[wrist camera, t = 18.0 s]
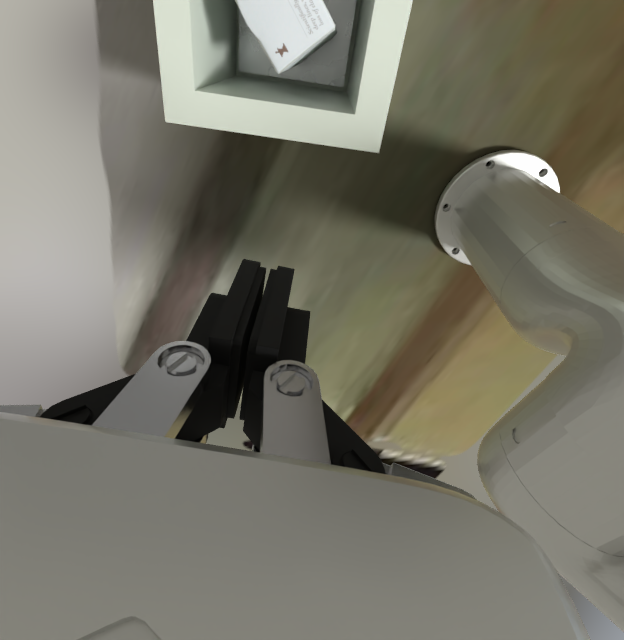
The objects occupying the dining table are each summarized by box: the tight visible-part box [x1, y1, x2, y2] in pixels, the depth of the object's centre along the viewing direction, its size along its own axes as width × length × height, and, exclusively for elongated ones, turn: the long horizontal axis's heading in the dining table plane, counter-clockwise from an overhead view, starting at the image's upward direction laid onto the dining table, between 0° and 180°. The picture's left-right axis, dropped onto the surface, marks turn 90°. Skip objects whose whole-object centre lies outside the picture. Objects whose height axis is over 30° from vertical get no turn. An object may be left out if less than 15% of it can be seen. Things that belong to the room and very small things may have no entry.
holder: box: [153, 0, 413, 153], centre depth 25 cm, size 14×14×14 cm
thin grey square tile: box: [239, 0, 357, 87], centre depth 30 cm, size 9×9×1 cm
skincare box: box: [235, 0, 337, 74], centre depth 25 cm, size 6×4×12 cm
